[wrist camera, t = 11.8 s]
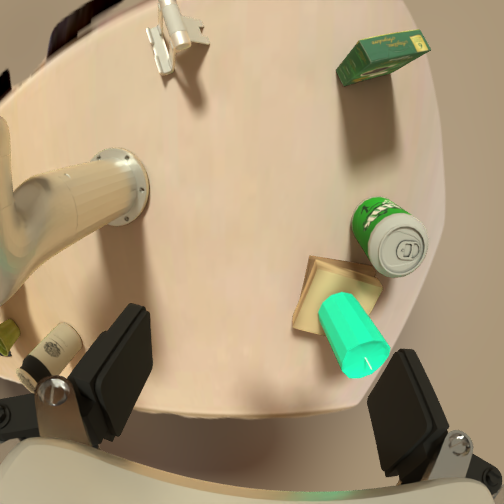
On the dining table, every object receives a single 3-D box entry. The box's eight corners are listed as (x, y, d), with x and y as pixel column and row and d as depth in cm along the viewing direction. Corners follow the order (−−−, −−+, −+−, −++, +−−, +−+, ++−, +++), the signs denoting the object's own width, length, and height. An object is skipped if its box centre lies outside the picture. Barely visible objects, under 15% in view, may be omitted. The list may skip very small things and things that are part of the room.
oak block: (292, 316, 44) (292, 327, 41) (315, 259, 40) (317, 268, 37) (350, 331, 44) (353, 342, 41) (377, 278, 40) (383, 288, 37)
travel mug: (75, 352, 59) (37, 400, 42) (54, 329, 57) (12, 373, 40) (87, 342, 56) (46, 393, 40) (64, 316, 54) (18, 364, 38)
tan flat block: (296, 309, 47) (296, 320, 44) (309, 254, 43) (310, 262, 40) (353, 317, 46) (357, 328, 43) (371, 264, 42) (376, 272, 39)
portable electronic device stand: (150, 32, 32) (124, 16, 24) (198, 11, 30) (179, -12, 22) (164, 76, 35) (137, 65, 27) (214, 55, 33) (197, 37, 25)
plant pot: (18, 319, 59) (0, 335, 51) (27, 344, 63) (11, 360, 55) (1, 310, 60) (-16, 324, 52) (10, 334, 63) (-6, 349, 55)
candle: (350, 284, 37) (390, 338, 26) (363, 315, 39) (399, 370, 28) (311, 305, 38) (338, 367, 26) (326, 334, 40) (353, 395, 29)
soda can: (393, 245, 40) (424, 282, 29) (346, 243, 41) (366, 281, 30) (400, 196, 37) (438, 219, 26) (352, 192, 38) (376, 214, 27)
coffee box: (384, 56, 30) (421, 27, 18) (392, 73, 31) (434, 51, 19) (334, 69, 32) (355, 39, 20) (343, 87, 33) (368, 64, 21)
